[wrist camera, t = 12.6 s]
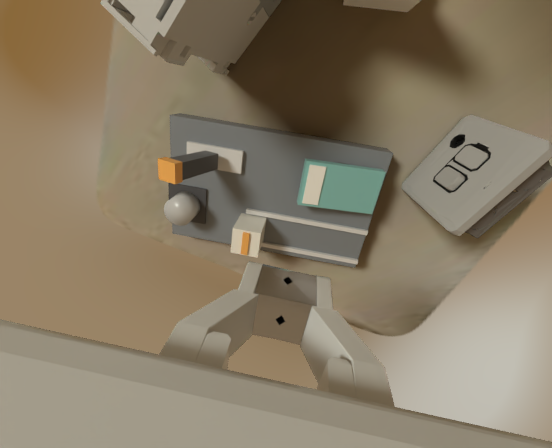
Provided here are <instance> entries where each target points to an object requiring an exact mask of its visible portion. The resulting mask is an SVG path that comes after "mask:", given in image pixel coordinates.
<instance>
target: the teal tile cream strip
mask: <svg viewBox="0 0 552 448" xmlns="http://www.w3.org/2000/svg"><path fill="white" fill-rule="evenodd" d="M385 174H386V172H385V171H384V170H383V169H376V168H369V167H362V166H355V165H348V164H341V163H334V162H327V161H320V160H313V159H306V158H305V162H304V167H303V172H302V177H301V183H300V188H299V193H298V198H297V204H298V205H303V206H311V207H319V208H327V209H335V210H343V211H350V212H358V213H366V214H372V213H373V210H374V207H375V204H376V201H377V198H378V195H379V192H380V189H381V186H382V183H383V180H384V177H385Z"/></svg>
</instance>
